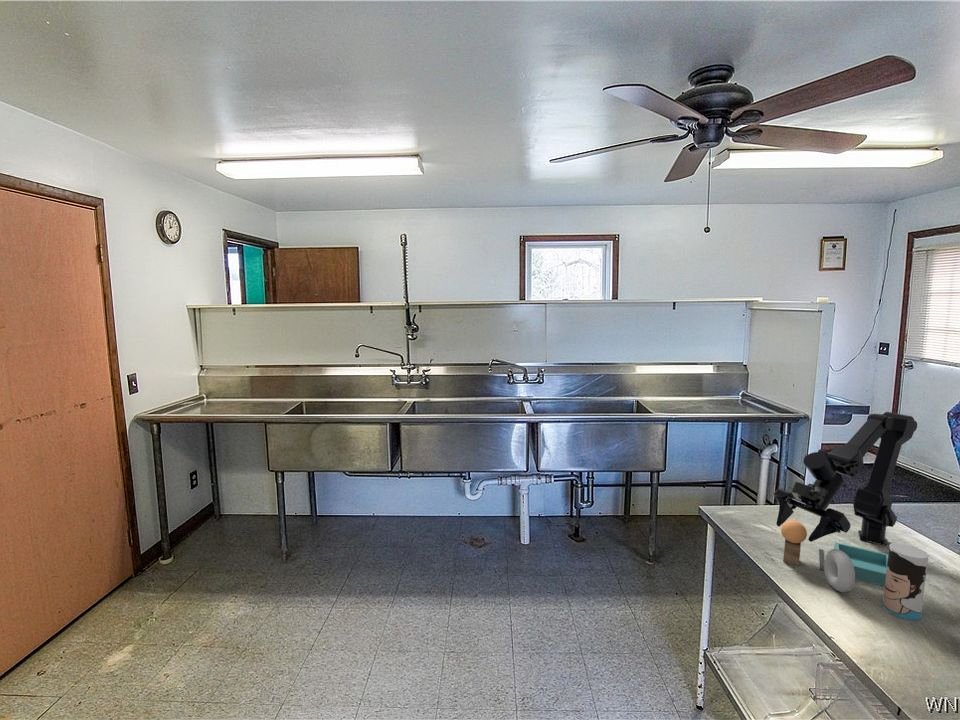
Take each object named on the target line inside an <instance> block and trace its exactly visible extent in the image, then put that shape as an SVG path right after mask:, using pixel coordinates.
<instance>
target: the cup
mask: <svg viewBox="0 0 960 720" xmlns="http://www.w3.org/2000/svg"><path fill="white" fill-rule="evenodd" d="M887 554H888V563H887V571H886V580H885V586H884V590H883V598H882V607H883V608H884V610H885V611H887V612H888V613H890V614H891V615H893V616H896V617H898V618H900V619H904V620H907V621H908V620H909V621H918V620H920V619H921V617H922V609H923V605H924V604H923V602H924V595H925V586H926V579H927V572H928V571H927V570H928V565H929V564H928V562H929V553H927V551H925V550H923V549H921V548H919V547H917V546H914V545H911V544H907V543H899V542H896V543H895V542H894V543H890V544H889V548H888V553H887Z"/></svg>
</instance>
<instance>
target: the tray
mask: <svg viewBox="0 0 960 720" xmlns="http://www.w3.org/2000/svg"><path fill="white" fill-rule="evenodd" d="M833 549H838V550H841V551H843V552H844V553H846V554H847V555H848V556H849V558H850V559H851V561H852V563H853V567H854V570H855V580H856V579H857V580H859V581H860V580H861V581H864V582H869V583H872V584H876V585H879V586H883V587H885V580H886V571H887V563H888V554H889V553H884V552H880V551H875V550H871V549H867V548H862V547H859V546H854V545H850V544H845V543H840V542H837V541H835V542H834V546H833Z"/></svg>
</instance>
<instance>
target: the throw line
mask: <svg viewBox="0 0 960 720" xmlns="http://www.w3.org/2000/svg"><path fill="white" fill-rule="evenodd" d="M824 554H825V553H824V549H821V548H819V549H818V555H819V557H818V558H819V571H822V572H825V569H824V560H825V557H824V556H825V555H824Z"/></svg>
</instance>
